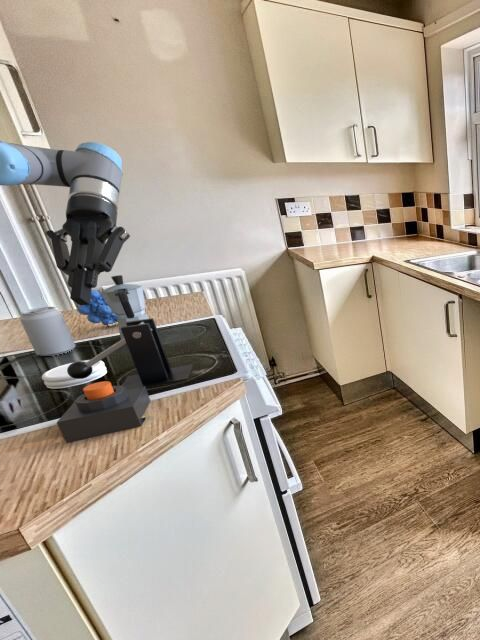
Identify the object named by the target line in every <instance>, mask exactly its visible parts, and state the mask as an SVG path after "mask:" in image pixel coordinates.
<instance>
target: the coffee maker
mask: <svg viewBox="0 0 480 640" xmlns="http://www.w3.org/2000/svg"><path fill="white" fill-rule="evenodd" d="M110 278H111V279H112V281H113V282H114V285H112V286H110V287H107V288H105V289H102V290H100V291H99V292H100V294H102V296H103V297H104V299H105V301H106V303H107V304H108V306H109V308H110V309H111V311H112V313H114V314H116V316H117V321H118V323H117V326H118V331H119V336H120V340H122V339H124V336H123V333H122V331H121V327H125V326H127V324H126V323H127V322H129V321H136V320H143V319H150V318H149V316H148V314H147V312H146V311H145V309H147V308H146V307H147V306H146V299H145V295H144V290H143V285H139V284H131V283H124V277H123V275H122V274H121V275H120V274H119V275H112V276H110Z"/></svg>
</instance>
